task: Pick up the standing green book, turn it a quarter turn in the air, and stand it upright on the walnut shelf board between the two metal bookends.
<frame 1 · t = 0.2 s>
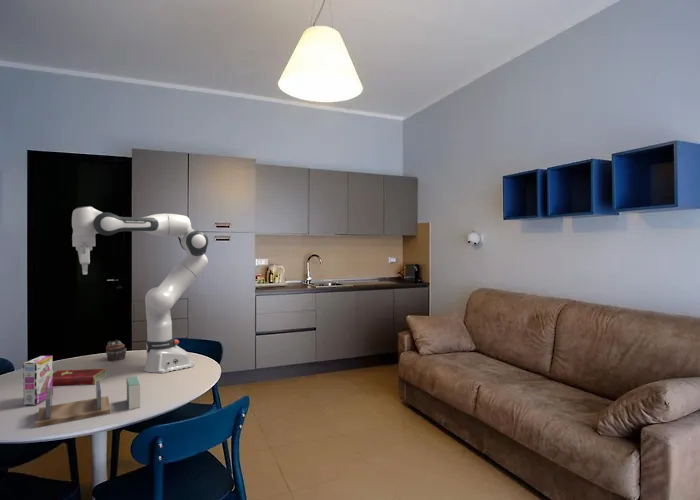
hand: (84, 273, 196), 48 cm above the table, tool pointing down, fingers open, 8 cm apart
hardcover book: (75, 382, 196), on the table
book: (133, 404, 168), on the table
shelf board: (74, 412, 160), on the table
cupcake: (116, 359, 232), on the table
candy bar box: (39, 401, 172), on the table
bookends: (74, 399, 160), on the shelf board, point 5 cm above the table
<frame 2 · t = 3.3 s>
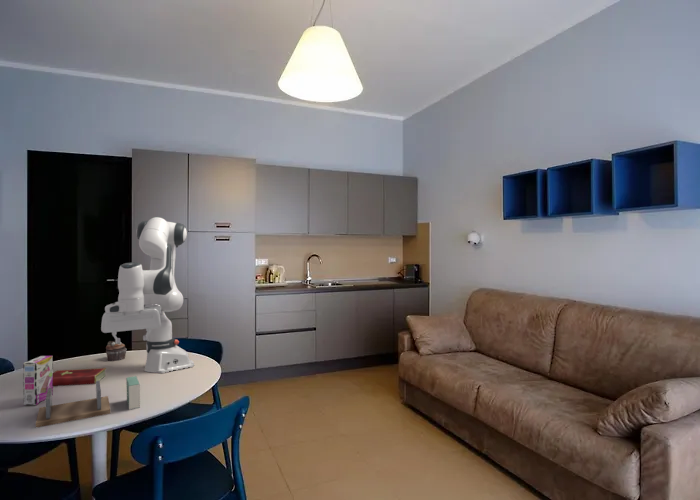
hand: (131, 341, 167), 24 cm above the table, tool pointing down, fingers open, 8 cm apart
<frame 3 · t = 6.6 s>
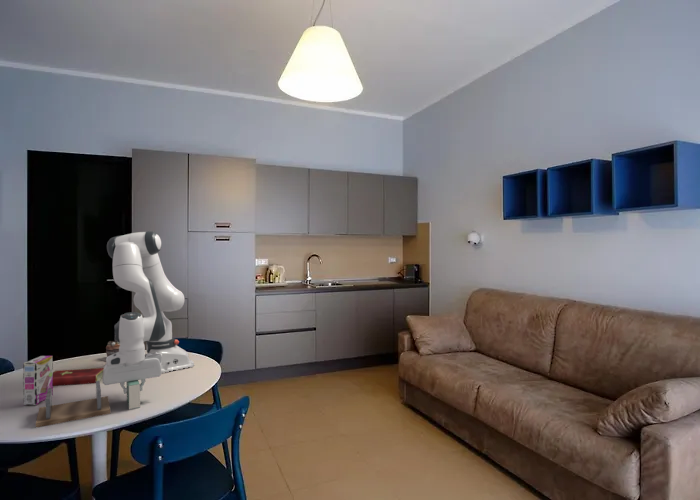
hand: (133, 391, 168), 5 cm above the table, tool pointing down, fingers closed on book, 3 cm apart
book: (133, 403, 168), on the table, touching gripper
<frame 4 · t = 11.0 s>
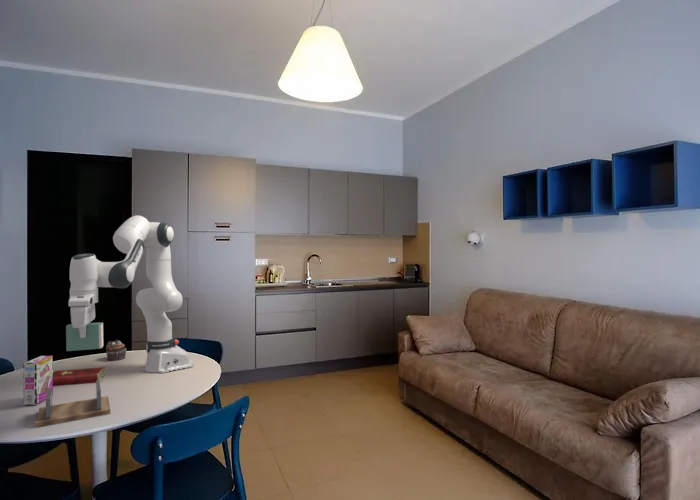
hand: (84, 336, 161), 28 cm above the table, tool pointing down, fingers closed on book, 3 cm apart
book: (85, 348, 161), point 23 cm above the table, touching gripper
when the fingers open (8 cm above the table, at t = 15.9 s): book drops 1 cm, resting on shelf board.
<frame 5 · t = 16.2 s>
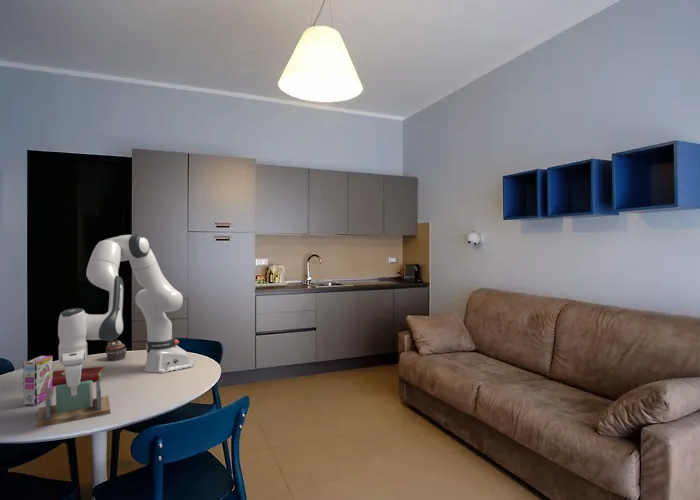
hand: (74, 391, 160), 8 cm above the table, tool pointing down, fingers open, 6 cm apart
book: (74, 408, 160), point 2 cm above the table, touching shelf board
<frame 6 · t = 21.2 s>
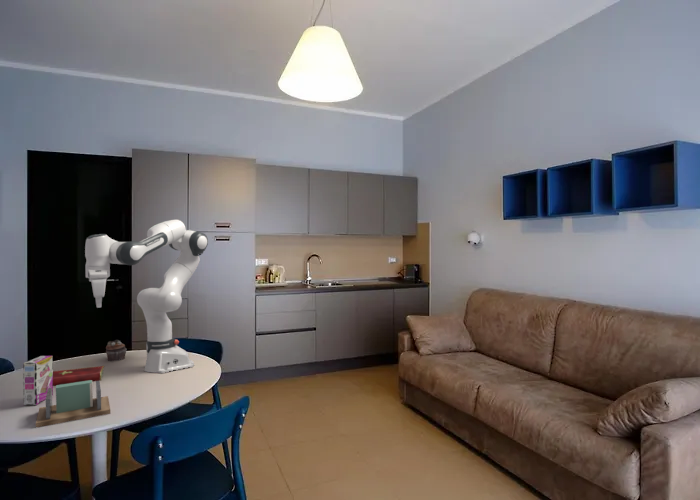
hand: (98, 305, 184), 35 cm above the table, tool pointing down, fingers open, 8 cm apart
at the end: book 0.1 cm off-centre on the shelf board, point 1.5 cm above the shelf board's base; book tilted 0°; the gripper is holding nothing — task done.
